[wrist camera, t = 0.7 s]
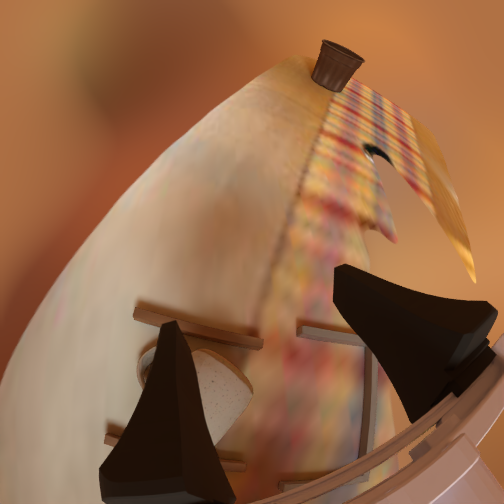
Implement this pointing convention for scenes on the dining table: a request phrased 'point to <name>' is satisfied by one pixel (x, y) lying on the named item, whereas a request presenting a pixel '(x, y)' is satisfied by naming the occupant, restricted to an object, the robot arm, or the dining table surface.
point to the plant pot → (335, 66)
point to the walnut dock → (204, 334)
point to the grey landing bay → (369, 394)
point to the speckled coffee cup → (213, 389)
